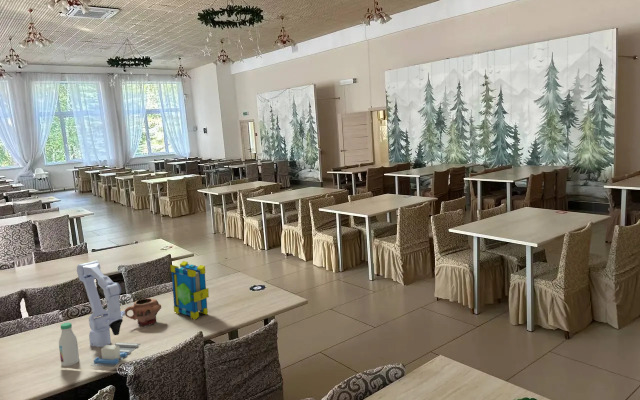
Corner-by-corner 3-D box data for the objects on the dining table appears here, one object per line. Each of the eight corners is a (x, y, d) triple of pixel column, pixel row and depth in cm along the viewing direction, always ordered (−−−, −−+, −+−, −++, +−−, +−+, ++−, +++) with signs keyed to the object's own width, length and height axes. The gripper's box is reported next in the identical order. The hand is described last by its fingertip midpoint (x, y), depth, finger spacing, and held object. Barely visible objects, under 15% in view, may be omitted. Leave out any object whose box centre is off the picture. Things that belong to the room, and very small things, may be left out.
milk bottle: (82, 359, 233) (78, 320, 230) (74, 367, 226) (70, 327, 223) (66, 360, 233) (61, 321, 230) (58, 368, 225) (53, 327, 222)
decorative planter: (128, 332, 263) (126, 308, 261) (123, 325, 273) (121, 302, 271) (165, 323, 275) (163, 299, 273) (158, 316, 285) (156, 294, 283)
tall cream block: (102, 360, 229) (101, 348, 229) (107, 356, 233) (106, 344, 232) (115, 361, 228) (114, 349, 227) (120, 357, 232) (119, 345, 231)
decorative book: (193, 321, 276) (189, 271, 271) (169, 313, 290) (165, 265, 285) (212, 313, 287) (209, 265, 282) (188, 305, 301) (185, 259, 296)
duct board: (90, 367, 225) (89, 361, 225) (119, 344, 249) (119, 339, 248) (113, 368, 223) (113, 363, 223) (141, 345, 247) (140, 340, 246)
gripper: (112, 314, 226) (114, 341, 228) (129, 303, 240) (132, 328, 242) (98, 313, 228) (101, 340, 230) (117, 302, 242) (119, 328, 244)
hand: (116, 334), depth 236 cm, fingers closed
